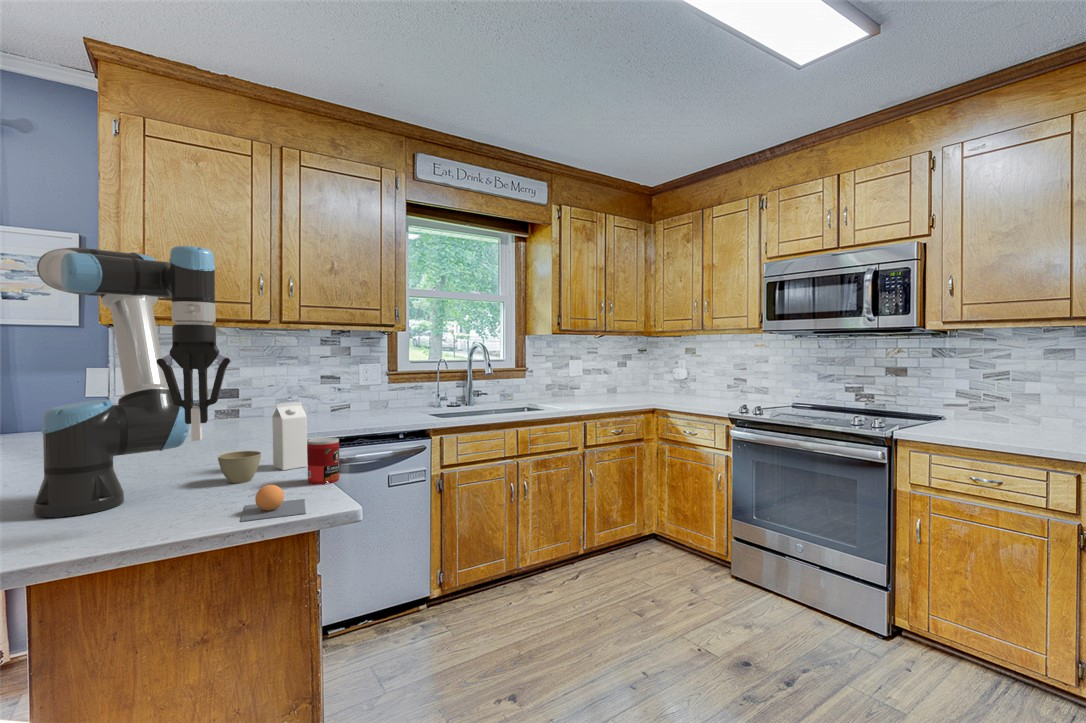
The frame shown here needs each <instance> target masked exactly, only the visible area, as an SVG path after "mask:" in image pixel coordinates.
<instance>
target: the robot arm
mask: <svg viewBox="0 0 1086 723" xmlns="http://www.w3.org/2000/svg"><path fill="white" fill-rule="evenodd" d="M169 256H170V257H169V260H168V261H160V260H156V259H155V258H154V257H152V256H150V255H148V254H147V255H146V254H141V253H138V252H122V251H114V250H113V251H112V250H103V249H97V248H96V249H94V248H86V247H65V248H64V247H63V248H56V249H53V250H49V251H47V252H46V253H44V254H43V255H42V256H40V257H39V259H38V261H37V264H36V271H37V275H38V277H39V279H40V280H41V281H42V282H43V283H44V284H45V285H46V286H48V287H50V288H52V289H55V290H58V291H61V292H63V293H68V294H74V295H81V296H82V295H83V296H94V297H95V296H96V297H100V298H101V304H102V305H103V306H104V307H105V308H107V309H109V310H110V314H111V319H112V325H113V330H114V335H115V336H114V337H115V343H116V348H117V355H118V360H119V367H120V372H121V380H122V385H123V391H124V393H123V394H122V395H121V396H120V397H119V398H118V399H117V400H118V401H117V403H118V404H114V403H113V402H112V400H111V399H106V398H105V399H104V398H103V399H94V400H86V401H85V400H84V401H80V402H79V401H78V402H74V403H68V404H62V405H58V406H54V407H51V408H49V409H48V410H45V413H43V417H42V429H41V434H42V441H43V442H42V444H43V473H44V474H43V480H42V483H41V485H40V488H39V490H38V492H37V496H36V498H35V501H34V504H33V515H34V514H35V515H36V516H35V515H34V516H35V517H37V516H40V517H39V518H44V517H55V518H64V517H63V516H68V517H75V515H76V516H81V514H83V515H88V514H92V513H93V512H94V513H98V512H101V511H105V510H109V509H112V508H115V507H118V506H119V505H122V504H123V503H124V502H125V493H124V492H125V491H124V490H123V488H122V485H121V482H120V481H119V479H118V476H117V474H116V472H115V470H114V457H117V456H125V455H135V454H141V453H149V452H157V451H159V452H162V451H163V452H164V451H166V450H170V449H175V448H178V447H180V446H181V445H184V442H185V441H186V439H187V437H188V434H189V429H191V430H190V431H191V432H190V435H191V436H190V437H191V441H193V442H195V441H201V440H202V439H203V424H207V423H208V420H209V418H208V417H209V416H208V411H209V410H208V407H209V406H212V405H215V404H216V403H218V401H219V398H220V393H221V390H222V385H223V383H224V382H223V381H224V376H225V374H226V370H227V368H228V367H229V365H230V364H231V363H232V358H230V357H226V356H225V355H223V354H221V353H220V350H219V349H218V346H217V327H216V326H215V325H213V323H214V324H215V323H216V319H217V318H216V317H217V316H216V315H217V314H216V284H215V283H216V279H215V278H216V274H215V273H216V264H215V257H214V256H215V255H214V252H213V251H212V250H210V249H209V248H204V247H200V246H193V245H192V246H191V245H190V246H189V245H176V246H173V247H172V248H171V250H170V255H169ZM160 298H162V299H165V300H171V321H172V322H173V323H175V324H173V326H171V329H172V330H171V335H172V336H171V337H172V338H171V340H172V341H171V342H172V343H171V344H172V346H171V349H170V350H169V354H166V355H165V356H162V350H161V347H160V346H161V345H160V341H159V335H158V331H157V325H156V320H155V315H154V308H153V307H154V306H155V305H156V304H157V303H158V300H159V299H160ZM216 359H217V361H216ZM173 360H174V362H175V363H176V364H177V365H178V366H179V367H180V368H181V369H182V375H183V398H182V395H181V391H180V388H179V385H178V382H177V380H176V378H177V377H176V375H175V371H174V369H173V367H172V366H173V365H174V362H173ZM215 361H216V364H217V365H218V368H217V371H216V373H215V378H214V382H213V385H212V390H211V394H210V398H208V396H209V393H208V369H209V367H211V365H212V364H213V362H215ZM193 370H197V375H198V376H197V377H198V406H197V407H194V405H195V404H194V389H193V388H194V386H193V385H194V382H193V381H194V380H193V379H194V378H193V373H194V371H193ZM190 426H191V427H190ZM73 515H74V516H73Z"/></svg>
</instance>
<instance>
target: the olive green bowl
mask: <svg viewBox="0 0 1086 723" xmlns="http://www.w3.org/2000/svg"><path fill="white" fill-rule="evenodd" d="M261 456H262V452H261V451H256V450H240V451H232V452H226V453H221V454H219V455H218V456H217V461H218V464H219V467H220V470H221V472H222V474H223V476H224V477H225V479H226V480H227V482H228V483H230V484H243V483H248V482H250V481H252V479H253V478H254V476H255V475H256V473H257V470H258V468H259V466H260V461H261V458H262V457H261Z"/></svg>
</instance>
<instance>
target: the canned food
mask: <svg viewBox="0 0 1086 723" xmlns="http://www.w3.org/2000/svg"><path fill="white" fill-rule="evenodd" d="M307 465H308V466H307V481H308V483H309V484H310V483H312V484H311V485H315V484H322V485H326V484H325V483H327V482H326V481H328V482H329V483H330V484H335V483H336V482H337V483H338V481H339V480H340V473H341V472H340V439H339V438H337V437H331V436H328V437H327V436H326V437H324V436H323V437H315V438H311V439H307Z"/></svg>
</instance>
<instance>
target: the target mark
mask: <svg viewBox="0 0 1086 723" xmlns="http://www.w3.org/2000/svg"><path fill="white" fill-rule="evenodd" d="M306 514H307V512H306V502H305V498H298V499H291V500H283V502H282V504H281V505H280V506H279V507H278V508H277V509H275V510H272V511H264V510H262V509H260V508H259V507H258V506H257V504H256V503H254V504H248V505H244V508H243V512H242V516H241V520H240V523H242V522H251V521H258V520H259V521H260V520H268V519H269V520H270V519H274V518H276V519H277V518H285V517H291V516H292V517H293V516H301V515H306Z"/></svg>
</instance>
